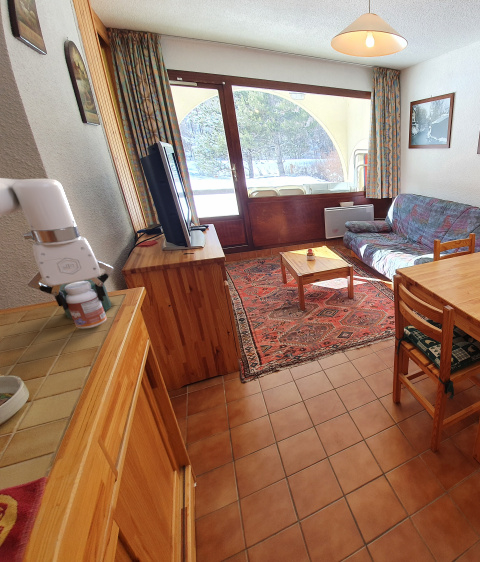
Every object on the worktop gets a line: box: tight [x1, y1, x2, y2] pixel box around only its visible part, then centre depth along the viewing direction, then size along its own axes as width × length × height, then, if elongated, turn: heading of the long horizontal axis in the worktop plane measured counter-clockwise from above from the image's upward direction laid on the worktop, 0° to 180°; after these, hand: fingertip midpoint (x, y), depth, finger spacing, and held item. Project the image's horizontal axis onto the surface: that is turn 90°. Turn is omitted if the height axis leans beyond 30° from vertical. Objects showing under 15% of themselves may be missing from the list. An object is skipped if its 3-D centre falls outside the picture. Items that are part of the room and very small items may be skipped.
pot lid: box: [59, 275, 101, 292], centre depth 85 cm, size 11×11×5 cm
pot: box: [61, 283, 112, 320], centre depth 88 cm, size 10×15×8 cm, turn 30°
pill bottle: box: [65, 281, 107, 329], centre depth 79 cm, size 6×6×11 cm
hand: (84, 302), depth 79 cm, fingers closed on pill bottle, 6 cm apart
